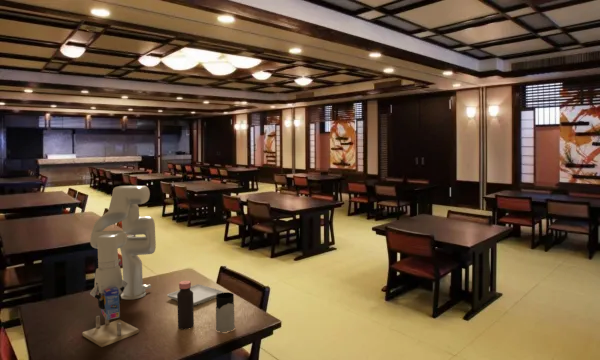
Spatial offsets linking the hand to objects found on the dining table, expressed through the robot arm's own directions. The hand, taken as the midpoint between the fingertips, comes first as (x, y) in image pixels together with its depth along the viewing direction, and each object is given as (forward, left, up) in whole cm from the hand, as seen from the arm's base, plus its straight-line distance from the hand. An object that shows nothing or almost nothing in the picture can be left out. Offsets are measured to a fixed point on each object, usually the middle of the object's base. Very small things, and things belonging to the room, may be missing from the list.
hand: (110, 305), depth 171 cm
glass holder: (-34, +32, -13) cm, 48 cm away
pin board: (0, 0, -12) cm, 12 cm away
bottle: (-24, +19, -13) cm, 33 cm away
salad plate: (-48, -5, -13) cm, 50 cm away
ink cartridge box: (0, 0, -4) cm, 4 cm away
